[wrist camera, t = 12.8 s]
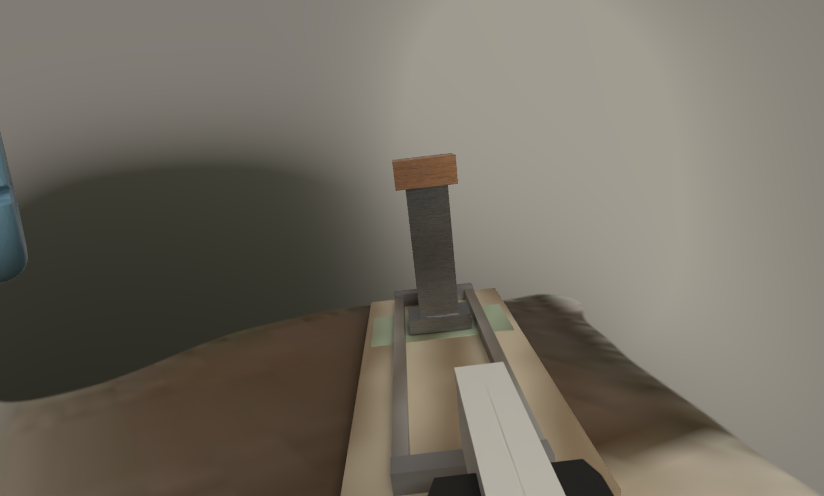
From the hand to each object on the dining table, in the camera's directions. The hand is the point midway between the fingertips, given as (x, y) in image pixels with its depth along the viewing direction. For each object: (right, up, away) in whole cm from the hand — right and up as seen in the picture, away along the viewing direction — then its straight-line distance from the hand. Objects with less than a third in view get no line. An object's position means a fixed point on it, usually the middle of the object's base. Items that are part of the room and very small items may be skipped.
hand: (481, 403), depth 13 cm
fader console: (0, -5, +17) cm, 17 cm away
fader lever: (0, -1, +21) cm, 21 cm away
